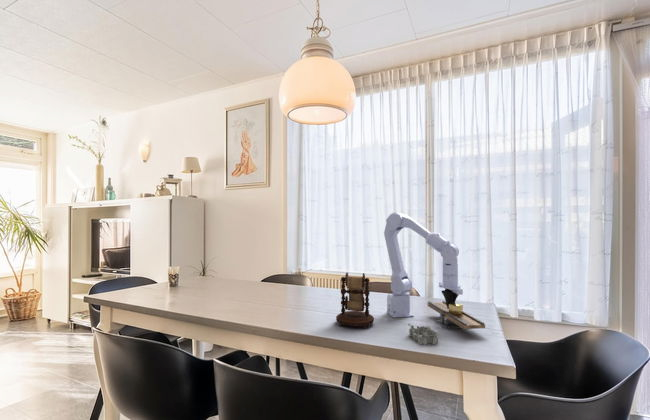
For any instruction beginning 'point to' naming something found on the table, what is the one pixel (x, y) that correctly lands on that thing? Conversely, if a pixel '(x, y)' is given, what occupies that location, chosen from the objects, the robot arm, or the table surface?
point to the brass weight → (456, 309)
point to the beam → (457, 317)
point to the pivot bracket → (446, 322)
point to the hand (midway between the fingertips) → (450, 308)
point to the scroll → (355, 302)
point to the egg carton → (423, 334)
